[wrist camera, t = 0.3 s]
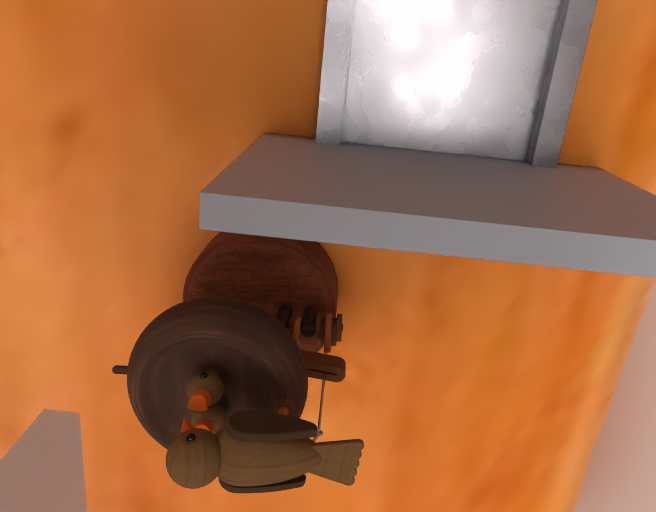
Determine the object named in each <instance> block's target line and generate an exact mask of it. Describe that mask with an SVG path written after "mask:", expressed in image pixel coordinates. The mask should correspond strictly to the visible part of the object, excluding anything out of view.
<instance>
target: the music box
mask: <svg viewBox="0 0 656 512" xmlns="http://www.w3.org/2000/svg"><path fill="white" fill-rule="evenodd" d="M337 296H338V283H337V276H336V272H335V269H334V266H333V264H332V262H331V260H330V258H329V256H328V255H327V253H326V252H325V250H324V249H323V248H322V246H321V245H320V244H319V243H318V242H315V241H306V240H296V239H287V238H278V237H268V236H259V235H249V234H240V233H231V232H221V233H219V234H218V235H217V236H216V237H215V238H213V239H212V240H211V242H210V243H209V244H208V245H207V246H206V248H205V249H204V250H203V252H202V253H201V254H200V256H199V257H198V258H197V260H196V261H195V262H194V264H193V265H192V267H191V269H190V271H189V273H188V275H187V278H186V281H185V285H184V292H183V302H182V303H180V304H177V305H175V306H173V307H171V308H169V309H167V310H166V311H164V312H163V313H161V314H160V315H159V316H157V317H156V318H155V319H154V320H153V321H152V322H151V323H150V324H149V325H148V326H147V327H146V328H145V329H144V331H143V332H142V333H141V335H140V336H139V338H138V340H137V341H136V343H135V345H134V348H133V350H132V353H131V356H130V359H129V364H128V366H118V365H116V366H114V367H113V368H112V371H113V373H115V374H127V387H128V394H129V398H130V402H131V405H132V407H133V410H134V412H135V414H136V416H137V418H138V420H139V421H140V423H141V424H142V426H143V427H144V428H145V430H146V431H147V432H148V433H149V434H150V435H151V436H152V437H153V438H154V439H155V440H156V441H157V442H158V443H159V444H161V445H162V446H163V447H165V448H166V449H168V451H167V454H166V467H167V471H168V473H169V475H170V477H171V478H172V479H173V481H174V482H176V483H177V484H178V485H180V486H182V487H185V488H190V489H195V488H200V487H203V486H206V485H208V484H209V483H211V482H212V481H213V480H214V479H215V478H216V477H218V478H219V482H220V484H221V486H222V487H223V488H224V489H225V490H227V491H229V492H232V493H263V492H273V491H281V490H287V489H293V488H298V487H302V486H303V485H304V484H305V480H306V476H305V475H304V474H306V473H308V472H309V473H312V474H315V475H318V476H321V477H324V478H327V479H330V480H333V481H336V482H339V483H342V484H345V485H348V486H350V485H352V484H353V483H354V481H355V480H354V476H355V475H356V474H357V469H356V468H357V467H358V466H359V460H358V459H359V458H360V457H361V455H362V454H361V450H362V449H363V448H364V443H363V441H362V440H361V439H352V440H341V441H329V442H318V443H315V441H316V439H317V438H318V436H322V435H323V432H322V431H321V430H320V426H321V416H322V406H323V396H324V386H325V380H327V381H332V382H340V381H342V380H343V379H344V378H345V367H346V363H345V361H344V360H343V359H342V358H341V357H337V356H331V355H328V353H330V351H331V346H336V341H341V335H342V331H343V324H342V314H337V318H336V308H337ZM323 345H324V353H326V354H321V353H317V352H318V351H319V350H320V349H321V348H322V346H323ZM308 377H312V378H317V379H322V380H323V383H322V392H321V402H320V411H319V421H318V428H317V426H316V425H315V424H314V423H311V422H309V421H306V420H302V419H300V417H301V414H302V412H303V409H304V406H305V402H306V398H307V391H308ZM315 435H316V436H315ZM314 436H315V437H314ZM310 437H314V439H313V440H311V439H309V438H310Z"/></svg>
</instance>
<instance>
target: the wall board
mask: <svg viewBox="0 0 656 512" xmlns="http://www.w3.org/2000/svg"><path fill="white" fill-rule="evenodd" d="M315 142H316V138H310V137H300V136H291V135H281V134H272V133H264V134H263V135H262V136H261V137H260V138H258V139H257V140H256V141H255V142H254V143H253V144H252V145H251V146H250V147H249V148H248V149H246V150H245V151H244V152H243V153H242V154H241V155H240V156H239V157H238V158H237V159H236V160H234V161H233V162H232V163H231V164H230V165H229V166H228V167H227V168H226V169H225V170H224V171H222V172H221V173H220V174H219V175H218V176H217V177H216V178H215V179H214V180H213V181H212V182H210V183H209V184H208V185H207V186H206V187H205V188H204V189H203V190H202V191H201V192H200V209H199V229H203V230H212V231H221V232H231V233H240V234H249V235H259V236H268V237H278V238H287V239H296V240H306V241H315V242H324V243H334V244H343V245H352V246H362V247H371V248H381V249H390V250H399V251H409V252H418V253H427V254H437V255H446V256H455V257H465V258H474V259H484V260H493V261H502V262H512V263H521V264H530V265H540V266H549V267H558V268H568V269H577V270H587V271H596V272H605V273H615V274H624V275H633V276H643V277H652V278H656V196H655V195H653V194H651V193H649V192H647V191H645V190H643V189H641V188H639V187H637V186H635V185H633V184H631V183H629V182H627V181H625V180H623V179H621V178H619V177H617V176H615V175H613V174H611V173H609V172H607V171H605V170H603V169H601V168H597V167H587V166H578V165H568V164H559V163H557V166H556V168H548V167H538V166H531V165H530V164H528V163H527V162H525V161H521V160H511V159H501V158H492V157H482V156H473V155H463V154H454V153H444V152H434V151H425V150H415V149H406V148H396V147H387V146H377V145H367V144H358V143H348V142H340V145H339V146H337V145H328V144H318V143H315Z"/></svg>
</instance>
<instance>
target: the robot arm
mask: <svg viewBox="0 0 656 512" xmlns="http://www.w3.org/2000/svg"><path fill="white" fill-rule="evenodd" d="M86 510H87V506H86V493H85V480H84V467H83V454H82V441H81V428H80V415H79V413H73V412H65V411H56V410H47V409H44V410H43V412H42V413H41V414H40V415H39V416H38V417H37V419H36V420H35V421H34V422H33V423H32V424H31V426H30V427H29V428H28V429H27V430H26V431H25V433H24V434H23V435H22V436H21V437H20V438H19V440H18V441H17V442H16V443H15V444H14V445H13V446H12V448H11V449H10V450H9V451H8V452H7V453H6V455H5V456H4V457H3V458H2V459H1V460H0V512H86Z"/></svg>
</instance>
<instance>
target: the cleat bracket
mask: <svg viewBox="0 0 656 512" xmlns="http://www.w3.org/2000/svg"><path fill="white" fill-rule="evenodd" d="M596 4H597V0H328V4H327V15H326V27H325V38H324V50H323V61H322V73H321V84H320V96H319V108H318V119H317V131H316V142H315V143H318V144H328V145H337V146H339V145H340V142H348V143H358V144H367V145H377V146H387V147H396V148H406V149H415V150H425V151H434V152H444V153H454V154H463V155H473V156H482V157H492V158H501V159H511V160H521V161H525V162H527V163H528V164H530V165H531V166H538V167H548V168H556V166H557V162H558V158H559V154H560V150H561V146H562V142H563V138H564V134H565V130H566V126H567V122H568V117H569V113H570V109H571V105H572V101H573V97H574V93H575V89H576V85H577V81H578V77H579V73H580V69H581V65H582V61H583V57H584V52H585V48H586V44H587V40H588V36H589V32H590V28H591V24H592V20H593V16H594V12H595V8H596Z"/></svg>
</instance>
